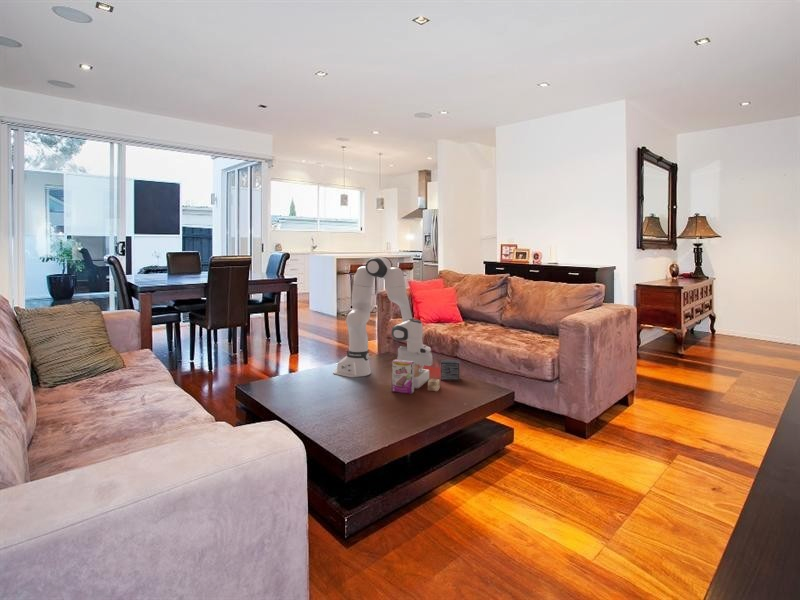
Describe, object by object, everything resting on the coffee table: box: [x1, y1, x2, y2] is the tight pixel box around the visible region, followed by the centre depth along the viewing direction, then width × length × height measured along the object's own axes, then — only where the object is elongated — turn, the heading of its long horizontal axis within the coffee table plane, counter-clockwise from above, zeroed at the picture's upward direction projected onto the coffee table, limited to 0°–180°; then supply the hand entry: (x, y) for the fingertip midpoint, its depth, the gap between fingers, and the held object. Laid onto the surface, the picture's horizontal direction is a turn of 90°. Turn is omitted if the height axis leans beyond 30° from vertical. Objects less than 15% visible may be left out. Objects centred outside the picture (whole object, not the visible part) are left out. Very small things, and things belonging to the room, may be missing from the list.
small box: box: [440, 359, 460, 382], centre depth 257 cm, size 11×6×10 cm, turn 84°
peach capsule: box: [414, 365, 420, 377], centre depth 255 cm, size 5×5×7 cm
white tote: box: [414, 368, 430, 389], centre depth 251 cm, size 14×18×6 cm
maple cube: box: [427, 378, 441, 392], centre depth 239 cm, size 5×5×5 cm
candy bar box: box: [391, 358, 415, 395], centre depth 234 cm, size 11×5×16 cm, turn 71°
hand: (414, 371), depth 255 cm, fingers closed on peach capsule, 5 cm apart
